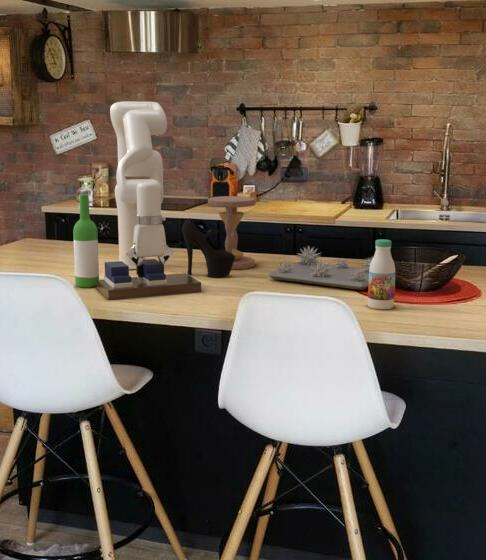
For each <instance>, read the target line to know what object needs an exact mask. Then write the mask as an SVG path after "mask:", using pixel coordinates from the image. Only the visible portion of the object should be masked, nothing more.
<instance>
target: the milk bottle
mask: <svg viewBox="0 0 486 560" xmlns="http://www.w3.org/2000/svg"><path fill="white" fill-rule="evenodd" d="M374 244H375V245H374V246H375V252H374V255H373V256H374V257H373V256H372V257H373V259H372V258H371V260H372V261H371V264H370V268H369V283H368V287H367V289H368V290H367V306H368V307H369V308H371V309H375V310H390V309H393V308H394V306H395V292H396V291H395V290H396V289H395V288H396V266H395V261H394V259H393V257H392V253H391V248H392V240H390V239H382V238H381V239H376V240H375V243H374Z"/></svg>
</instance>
